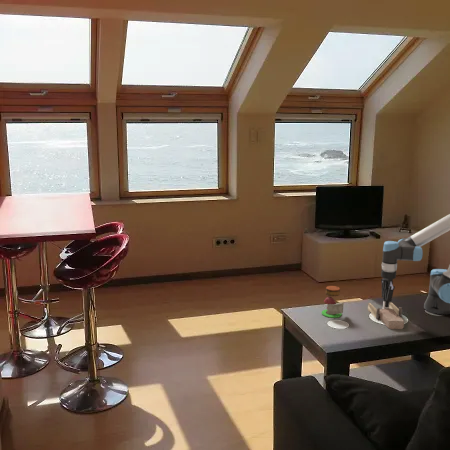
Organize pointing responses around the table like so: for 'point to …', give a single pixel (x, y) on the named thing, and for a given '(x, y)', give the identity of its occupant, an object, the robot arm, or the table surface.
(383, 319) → the brick
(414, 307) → the table surface
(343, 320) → the table surface
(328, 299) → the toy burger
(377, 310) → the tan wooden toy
